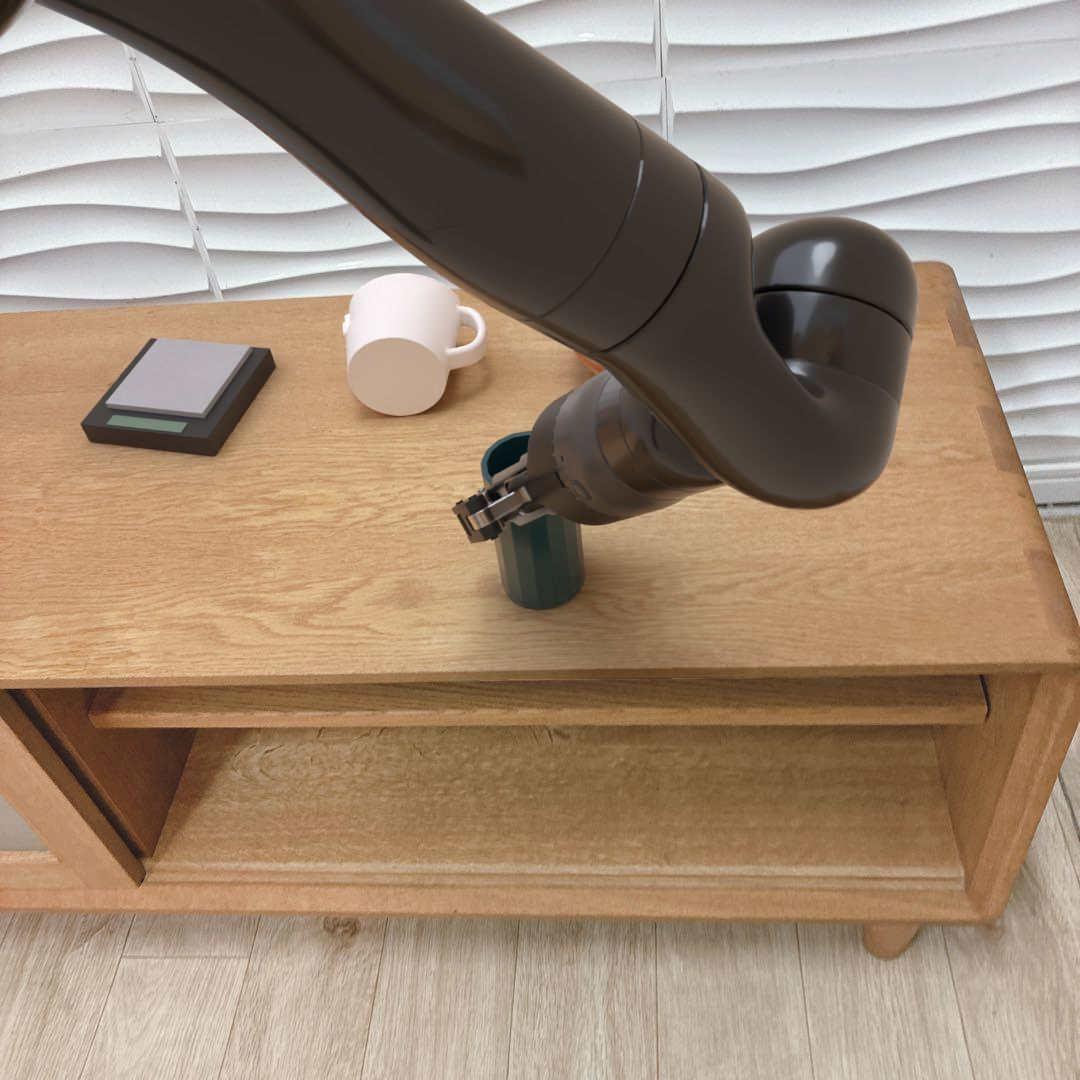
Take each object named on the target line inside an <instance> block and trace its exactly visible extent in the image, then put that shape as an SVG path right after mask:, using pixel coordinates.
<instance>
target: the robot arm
mask: <svg viewBox="0 0 1080 1080" xmlns="http://www.w3.org/2000/svg"><path fill="white" fill-rule="evenodd" d="M33 4H35V5H37V6H41V7H43V8H45V9H48V10H50V11H53V12H55V13H57V14H59V15H62V16H63V17H66V18H69V19H71V20H73V21H76V22H78V23H80V24H82V25H85V26H87V27H89V28H92V29H94V30H96V31H98V32H100V33H103V34H105V36H109V37H110V38H112V39H114V40H117V41H119V42H121V43H122V44H124V45H126V46H128V47H130V48H132V49H134V50H136V51H137V52H139V53H141V54H143V55H145V56H146V57H148V58H150V59H151V60H153V61H155V62H156V63H158V64H161V65H162V66H163V67H165V68H167V69H169V70H170V71H172V72H174V73H175V74H177V75H179V76H180V77H182V78H184V79H185V80H186V81H188V82H190V83H191V84H193V85H194V86H196V87H198V88H199V89H200V90H201V91H204V92H205V93H207V94H208V95H210V96H211V97H213V98H214V99H216V100H217V101H218V102H219V103H221V104H223V105H225V106H226V107H227V108H229V109H230V110H232V111H233V112H235V113H236V114H238V115H239V116H240V117H242V118H243V119H244V120H246V121H248V122H249V123H251V124H252V125H253V126H254V127H255V128H257V129H258V130H259V131H261V133H263V134H264V135H265V136H267V137H268V138H269V139H270V140H272V141H273V142H274V143H276V144H277V145H278V146H279V147H281V149H283V150H284V151H286V152H287V153H288V154H289V155H290V156H292V157H293V158H294V159H295V160H296V161H298V162H299V163H300V164H301V165H302V166H303V167H305V168H306V169H307V170H308V171H309V172H311V173H312V174H313V175H314V176H315V177H316V178H318V180H320V181H321V182H322V183H324V184H325V185H326V186H327V187H328V188H329V189H331V190H332V191H333V192H334V193H336V194H337V195H338V196H339V197H340V198H341V199H342V200H343V201H345V202H346V203H347V204H349V206H351V207H352V208H353V209H355V210H356V211H357V212H358V213H359V214H360V215H361V216H363V217H364V218H365V219H366V220H367V221H368V222H370V223H371V224H372V225H374V227H376V228H377V229H378V230H379V231H380V232H382V233H383V234H385V235H386V236H387V237H389V239H391V240H392V241H393V242H395V244H397V245H399V246H400V247H401V248H402V249H404V250H405V251H406V252H408V253H409V254H410V255H412V256H413V257H414V258H416V259H417V260H419V262H421V263H422V264H424V265H425V266H426V267H428V268H430V269H431V270H432V271H433V272H435V273H436V274H437V275H439V276H440V277H442V278H443V279H445V280H447V281H448V282H449V283H451V284H452V285H454V286H455V287H457V288H459V289H460V290H462V291H463V292H464V293H467V294H468V295H470V296H471V297H473V298H475V299H477V300H478V301H479V302H481V303H483V304H485V305H487V306H488V307H490V308H492V309H495V310H496V311H498V312H500V313H502V314H503V315H505V316H507V317H509V318H510V319H513V320H515V321H517V322H518V323H521V324H522V325H524V326H527V327H528V328H530V329H532V330H534V331H536V332H538V333H539V334H542V335H544V336H545V337H548V338H549V339H551V340H553V341H555V342H557V343H559V344H561V345H562V346H565V347H567V348H568V349H570V350H573V351H574V350H575V351H576V352H578V353H580V354H582V355H584V356H586V357H587V358H589V359H591V360H593V361H595V362H597V363H598V364H600V365H601V366H603V367H604V368H605V369H606V370H604V371H602V372H600V373H599V374H597V375H595V374H594V376H592V377H590V378H589V379H587V380H586V381H584V382H582V383H580V384H579V385H577V386H576V387H574V388H572V389H571V390H569V391H567V392H566V393H565V394H563V395H561V396H559V397H557V398H556V399H554V400H553V401H552V402H551V403H549V404H548V405H547V406H546V407H545V408H544V409H543V410H542V412H541V413H540V414H539V415H538V416H537V419H536V420H535V422H534V424H533V425H532V429H531V430H530V431H531V434H530V437H529V442H528V451H527V453H526V454H524V455H522V456H521V458H520V461H519V462H517V463H515V464H514V465H512V466H510V467H508V468H506V469H504V470H503V471H501V472H499V473H497V474H496V475H494V476H493V478H492V486H490V487H488V488H486V489H485V488H484V486H483V487H481V488H479V489H477V490H476V492H477V493H474V494H472V495H471V496H469V497H467V499H466V500H464V499H460V500H459V501H457V502H455V506H452V507H451V510H452V512H453V514H454V515H455V516H456V517H457V519H458V521H459V523H460V525H461V527H462V528H463V531H464V532H465V534H466V536H467V539H468V541H469V543H470V544H476V543H477V544H479V543H485V542H488V541H491V542H493V541H494V539H496V538H498V537H499V535H498V534H500V533H502V532H503V530H504V529H506V525H505V524H507V523H509V522H514V523H515V524H517V525H519V526H522V525H525V524H527V523H529V522H531V521H533V520H535V519H537V518H539V517H542V516H544V515H546V514H551V515H556V514H559V515H561V516H562V517H564V518H566V519H568V520H570V521H573V522H576V523H579V524H581V525H584V526H591V527H593V526H594V527H595V526H597V527H598V526H606V525H610V524H611V525H612V524H614V523H618V522H621V521H625V520H628V519H632V518H636V517H639V516H642V515H646V514H650V513H654V512H657V511H660V510H665V509H667V508H669V507H672V506H674V505H676V504H678V503H679V502H681V501H683V500H685V499H686V498H688V497H690V496H694V495H697V494H698V495H699V494H701V493H705V492H707V491H714V490H716V489H719V488H723V487H726V486H729V487H730V488H731V489H733V490H735V491H737V492H738V493H740V494H742V495H744V496H746V497H748V498H750V499H752V500H755V501H758V502H760V503H763V504H765V505H769V506H772V507H775V508H780V509H785V510H791V511H792V510H793V511H803V512H804V511H821V510H827V509H831V508H834V507H838V506H842V505H844V504H847V503H849V502H850V501H851V502H852V501H853V500H855V499H856V498H858V497H860V496H861V495H862V494H864V493H866V492H867V491H868V490H869V489H870V488H871V487H872V486H873V485H874V484H875V483H877V481H878V480H879V478H880V477H881V476H882V475H883V473H884V470H885V469H886V467H887V464H888V462H889V459H890V457H891V454H892V451H893V447H894V444H895V439H896V433H897V428H898V422H899V416H900V412H901V411H900V410H901V404H902V400H903V394H904V389H905V383H906V377H907V372H908V367H909V360H910V356H911V351H912V343H913V340H914V335H915V329H916V324H917V318H918V312H919V303H920V300H919V297H920V296H919V295H920V292H919V288H920V287H919V280H918V276H917V273H916V268H915V266H914V263H913V261H912V259H911V258H910V256H909V255H908V253H907V252H906V249H904V247H903V246H902V245H901V244H900V243H899V242H898V241H897V240H896V239H895V238H894V237H893V236H891V235H890V234H888V232H886V231H884V230H883V229H881V228H880V227H878V226H876V225H874V224H872V223H870V222H867V221H863V220H860V219H856V218H852V217H848V216H842V215H841V216H840V215H816V216H808V217H802V218H797V219H792V220H789V221H785V222H783V223H780V224H777V225H774V226H772V227H770V228H767V229H765V230H764V231H762V232H760V233H758V234H756V235H755V236H753V233H752V232H753V231H752V227H751V226H752V225H751V223H750V219H749V217H748V215H747V212H746V210H745V207H744V205H743V203H742V202H741V200H740V199H739V198H738V196H737V195H736V194H735V193H734V191H732V189H731V188H729V186H727V184H725V183H724V182H723V181H722V180H721V179H720V178H719V177H718V176H716V175H715V174H713V173H712V172H711V171H710V170H708V169H707V168H705V167H704V166H702V165H701V164H699V163H698V162H697V161H696V160H694V159H692V158H691V157H690V156H689V155H688V154H686V153H685V152H683V151H682V150H680V149H679V148H678V147H676V146H675V145H674V144H672V143H671V142H669V141H668V140H667V139H665V138H664V137H663V136H661V135H660V134H658V133H657V132H655V131H654V130H653V129H651V128H650V127H649V126H647V125H646V124H644V123H643V122H641V120H638V119H637V118H636V117H635V116H634V115H632V114H631V113H629V112H627V111H626V110H624V109H623V108H622V107H621V106H619V105H617V104H616V103H615V102H613V101H611V99H609V98H608V97H606V96H605V95H603V94H602V93H600V92H599V91H598V90H596V89H594V87H591V86H590V85H589V84H587V82H584V81H583V80H581V79H580V78H579V77H577V76H576V75H574V74H573V73H571V72H570V71H569V70H567V69H566V68H564V67H563V66H561V65H560V64H559V63H557V62H555V60H552V59H551V58H550V57H548V56H546V55H545V54H543V53H542V52H541V51H539V50H538V49H536V48H535V47H533V46H532V45H530V44H529V43H528V42H527V41H525V40H524V39H521V38H520V37H519V36H517V35H516V34H515V33H513V32H511V31H510V30H509V29H507V28H506V27H504V26H503V25H501V24H500V23H499V22H497V21H495V20H494V19H492V18H491V17H490V16H489V15H487V14H485V13H484V12H483V11H481V10H480V9H478V8H476V7H475V6H474V5H472V4H471V3H469V2H468V1H466V0H0V40H1V39H2V38H3V37H4V36H5V35H6V34H7V33H8V32H9V30H10V29H11V28H13V26H14V25H16V23H17V22H18V21H19V20H20V19H21V18H22V17H23V16H24V15H25V14H26V13H27V11H28V10H29V9H30V8H31V7H32V5H33ZM525 468H527V469H526V470H524V469H525ZM522 470H524V471H523V472H521V473H520V474H518V475H517V473H518V472H520V471H522ZM495 493H498V494H499V495H500V496H501V498H500V499H498V498H497V496H496V494H495Z"/></svg>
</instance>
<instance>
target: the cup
mask: <svg viewBox="0 0 1080 1080" xmlns="http://www.w3.org/2000/svg"><path fill="white" fill-rule="evenodd" d="M531 431H532V430H525V431H519V432H514V433H510V434H508V435H506V436H504V437H502V438H499V439H497V440H496V441H495V442H493V444H491V445H490V446H489V447H488V448H487V449H486V450H485V451H484V454H483V457H482V458H481V460H480V468H481V469H480V470H481V477H482V482H483V487H484V488H485V489H486V488H488V487H490V486H492V478H493V476H494V475H496V474H497V473H499V472H501V471H503V470H504V469H506V468H508V467H510V466H512V465H514V464H515V463H517V462H519V461H520V458H521V456H522V455H524V454H526V453H527V451H528V442H529V437H530V434H531ZM526 469H527V468H525V469H524V470H526ZM524 470H522V471H520V472H518V473H517V475H518V474H520V473H521V472H523V471H524ZM495 494H496V496H497V498H498V499H500V498H501V496H500V495H499V494H498V493H495ZM505 525H506V529H504V530H503V532H502V533H500V534H498V535H499V537H498V538H496V539H494V540H493V542H494V547H495V552H496V557H497V558H496V559H497V564H498V569H499V572H500V580H501V584H502V589H503V591H504V592H505V594H506V596H507V597H508V598H509V599H510V600H511V601H513V602H514V603H515V604H517V605H518V606H521V607H524V608H527V609H530V610H531V609H532V610H549V609H553V608H554V609H555V608H557V607H560V606H563V605H565V604H567V603H568V602H570V601H572V600H573V599H574V598H575V597H576V596H577V595H578V594H579V593H580V591H581V589H582V588H583V586H584V583H585V580H586V567H585V556H584V546H583V536H582V526H581V525H582V524H579V523H576V522H573V521H570V520H568V519H566V518H564V517H562V516H561V515H559V514H556V515H551V514H546V515H544V516H542V517H539V518H537V519H535V520H533V521H531V522H529V523H527V524H525V525H522V526H519V525H517V524H515V523H514V522H509V523H507V524H505Z"/></svg>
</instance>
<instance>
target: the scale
mask: <svg viewBox="0 0 1080 1080" xmlns="http://www.w3.org/2000/svg"><path fill="white" fill-rule="evenodd" d="M276 367H277V365H276V362H275V360H274V356H273V353H272V351H271V348H268V347H259V346H258V347H257V346H252V345H248V344H239V343H238V344H237V343H236V344H235V343H225V342H214V341H204V340H194V339H193V340H191V339H182V338H181V339H180V338H171V337H170V338H168V337H158V338H154V337H150V339H148V341H147V342H146V343H145V345H144V346H143V347H142V348H141V350H139V352H138V353H137V354H136V355H135V356H134V358H133V359H132V360H131V361H130V362H129V364H128V365H127V366H126V368H125V369H124V370H123V371H122V372H121V373H120V375H119V376H118V377H117V379H116V380H115V381H113V383H112V384H111V386H110V387H109V388H108V389H107V390H106V391H105V393H104V394H103V396H101V398H100V399H99V400H98V401H97V402H96V404H95V405H94V406H93V407H92V409H91V410H90V411H89V412H88V414H87V415H86V416H85V417H84V418H83V420H82V421H81V422H80V427H81V428H82V430H83V432H84V434H85V435H86V438H87V440H88V442H91V443H97V444H98V443H100V444H107V445H108V444H109V445H116V446H125V447H131V448H132V447H133V448H142V449H151V450H159V451H167V452H176V453H177V452H178V453H184V454H185V453H186V454H194V455H201V456H202V455H203V456H209V457H216V456H217V454H218V453H219V451H220V449H222V447H223V446H224V444H225V442H226V441H227V439H228V438H229V436H230V435H231V433H232V432H233V430H234V429H235V427H236V426H237V425H238V423H239V422H240V420H241V419H242V417H243V416H244V414H245V413H246V411H247V410H248V409H249V407H250V406H251V404H252V403H253V401H254V400H255V398H256V397H257V395H258V394H259V392H260V391H261V390H262V388H263V387H264V385H265V384H266V382H267V380H268V379H269V378H270V376H271V374H272V373H273V372H274V371H275V369H276Z"/></svg>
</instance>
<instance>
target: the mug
mask: <svg viewBox="0 0 1080 1080" xmlns="http://www.w3.org/2000/svg"><path fill="white" fill-rule="evenodd" d="M461 327H468V328H470V329H473V330H474V332H476V337H475V338H474V340H473V341H472V342H470V343H467V344H465V345H461V346H458V347H456V346H457V342H458V338H459V334H460V331H461ZM342 334H343V338H344V341H345V349H346V350H345V351H346V352H345V353H346V355H345V356H346V377H347V382H348V386H349V389H350V390H351V393H353V395H354V396H355V397H356V399H358V401H360V403H362V404H363V405H365V406H366V407H368V408H369V409H372V410H373V411H375V412H378V413H381V414H384V415H389V416H394V417H395V416H398V417H403V416H412V415H416V414H420V413H422V412H425V411H427V410H428V409H430V408H431V407H434V405H435V404H437V403H438V402H439V400H440V399H441V398H442V397H443V395H444V393H445V391H446V388H447V387H446V386H447V383H448V379H449V375H450V371H452V370H456V369H461V368H465V367H470V366H472V365H474V364H477V363H479V362H480V361H481V360H482V359H483V357H485V355H486V353H487V351H488V348H489V337H488V330H487V326H486V321H485V320H484V318H483V316H482V315H481V314H480V312H478V311H477V310H476V309H474V308H472V307H470V306H465V305H463V304H462V302H461V299H460V298H459V296H458V295H457V293H455V292H454V291H453V290H452V289H450V288H449V287H448V286H447V285H445V284H444V283H442V282H441V281H439V280H437V279H435V278H432V277H430V276H426V275H422V274H419V273H418V274H416V273H409V272H399V273H391V274H386V275H381V276H379V277H376V278H373V279H371V280H368V281H367V282H366V283H365V284H363V285H362V286H360V287H359V288H358V289H357V290H356V291H355V293H354V294H353V296H352V297H351V298H350V301H349V305H348V312H347V313H346V314H344V322H342Z"/></svg>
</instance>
